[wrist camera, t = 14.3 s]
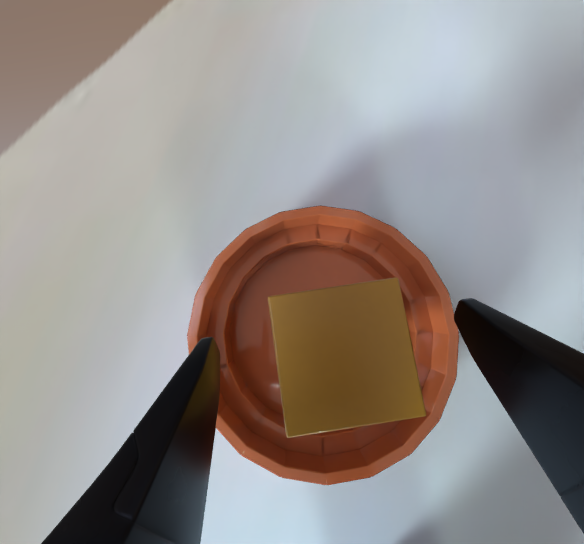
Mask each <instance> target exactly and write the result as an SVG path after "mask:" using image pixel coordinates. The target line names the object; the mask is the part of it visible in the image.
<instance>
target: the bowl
mask: <svg viewBox="0 0 584 544" xmlns="http://www.w3.org/2000/svg"><path fill="white" fill-rule="evenodd" d="M395 277H396V278H398V279H399V284H400V289H401V294H402V299H403V303H404V308H405V313H406V318H407V323H408V328H409V333H410V337H411V342H412V347H413V352H414V357H415V362H416V367H417V371H418V376H419V381H420V386H421V391H422V396H423V401H424V405H425V410H426V416H424V417H418V418H412V419H405V420H399V421H393V422H386V423H380V424H374V425H367V426H361V427H355V428H348V429H342V430H336V431H330V432H323V433H317V434H311V435H304V436H298V437H292V438H287V436H286V431H285V423H284V416H283V408H282V401H281V394H280V386H279V379H278V371H277V364H276V356H275V349H274V341H273V334H272V327H271V319H270V312H269V304H268V297H269V296H274V295H280V294H287V293H294V292H301V291H307V290H314V289H321V288H328V287H334V286H341V285H348V284H355V283H361V282H368V281H375V280H382V279H388V278H395ZM458 334H459V332H458V328H457V325H456V323H455V321H454V312H453V308H452V304H451V300H450V296H449V293H448V290H447V289H446V287H445V285H444V284H443V282H442V280H441V279H440V277H439V275H438V274H437V272H436V270H435V269H434V267H433V266H432V264H431V262H430V261H429V259H428V257H427V256H426V255H425V254H424V253H423V252H422V251H421V250H419V249H418V248H417V247H416V246H415V245H414V244H413V243H412V242H411V241H409V240H408V239H407V238H406V237H405V236H404V235H403V234H402V233H401V232H399V231H398V230H397V229H395V228H394V227H392V226H390V225H388V224H385V223H383V222H381V221H379V220H377V219H375V218H373V217H371V216H368V215H366V214H364V213H362V212H359V211H355V210H348V209H341V208H334V207H326V206H314V207H308V208H302V209H296V210H289V211H283V212H279V213H277V214H275V215H273V216H271V217H269V218H267V219H265V220H263V221H261V222H259V223H257V224H255V225H253V226H251V227H249V228H247V229H245V230H244V231H243V232H242V233H241V234H240V235H239V236H238V237H237V238H236V239H235V240H234V241H233V242H231V243H230V244H229V245H228V246H227V247H226V248H225V249H224V250H223V251H222V252H221V253H220V254H219V255H218V256H217V257H216V258H215V260H214V262H213V263H212V265H211V267H210V269H209V271H208V273H207V274H206V276H205V278H204V280H203V282H202V283H201V285H200V287H199V289H198V291H197V293H196V295H195V299H194V304H193V309H192V314H191V319H190V324H189V329H188V334H187V336H188V337H187V340H188V349H189V354H190V353H191V351H192V350H193V349H194V347H195V346H196V345H197V343H198V342H199V341H200V339H202V338H206V337H213V338H214V339H215V342H216V344H217V346H218V349H219V351H220V394H219V406H218V413H217V421H216V428H217V430H218V431H219V432H220V433H221V434H222V435H223V436H224V437H225V438H226V439H227V441H228V442H229V443H230V444H231V445H232V446H233V447H234V448H235V449H236V450H237V452H238V453H239V454H240V455H241V454H242V456H243V457H245V458H247V459H248V460H250V461H252V462H254V463H256V464H257V465H259V466H261V467H263V468H265V469H267V470H268V471H270V472H272V473H274V474H276V475H277V476H279V477H282V478H286V479H292V480H298V481H304V482H310V483H316V484H322V485H326V484H327V485H331V484H337V483H342V482H348V481H353V480H358V479H364V478H369V477H371V476H374V475H376V474H378V473H379V472H381V471H383V470H384V469H386V468H388V467H390V466H391V465H393V464H395V463H397V462H398V461H400V460H402V459H403V458H405V457H407V456H409V455H410V454H412V452H413V451H414V450H415V449H416V448H417V447H418V445H419V444H420V443H421V442H422V441H423V439H424V438H425V437H426V436H427V435H428V434H429V432H430V431H431V430H432V429H433V428H434V427H435V425H436V424H437V423H438V422H439V421H440V420H439V419H440V418H441V416H442V413H443V411H444V408H445V406H446V403H447V401H448V398H449V396H450V393H451V390H452V388H453V385H454V383H455V380H456V376H457V359H458V342H459V335H458Z"/></svg>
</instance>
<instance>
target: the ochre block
mask: <svg viewBox="0 0 584 544" xmlns="http://www.w3.org/2000/svg"><path fill="white" fill-rule="evenodd" d="M268 304H269V312H270V319H271V327H272V334H273V341H274V349H275V356H276V364H277V371H278V379H279V386H280V394H281V401H282V408H283V416H284V423H285V431H286V436H287V438H292V437H298V436H304V435H311V434H317V433H323V432H330V431H336V430H342V429H348V428H355V427H361V426H367V425H374V424H380V423H386V422H393V421H399V420H405V419H412V418H418V417H424V416H426V410H425V405H424V401H423V396H422V391H421V386H420V381H419V376H418V371H417V367H416V362H415V357H414V352H413V347H412V342H411V337H410V333H409V328H408V323H407V318H406V313H405V308H404V303H403V299H402V294H401V289H400V284H399V279H398V278H396V277H395V278H388V279H382V280H375V281H368V282H361V283H355V284H348V285H341V286H334V287H328V288H321V289H314V290H307V291H301V292H294V293H287V294H280V295H274V296H269V297H268Z"/></svg>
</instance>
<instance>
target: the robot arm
mask: <svg viewBox="0 0 584 544" xmlns="http://www.w3.org/2000/svg"><path fill="white" fill-rule="evenodd" d="M454 321H455V323H456V325H457V327H458V329H459V331H460V333H461V335H462V337H463V339H464V341H465V343H466V345H467V347H468V350H469V352H470V353H471V355H472V357H473V359H474V361H475V362H476V364H477V366H478V367H479V369H480V370H481V372H482V374H483V375H484V377H485V378H486V380H487V381H488V383H489V385H490V386H491V388H492V389H493V391H494V393H495V394H496V396H497V397H498V399H499V400H500V402H501V404H502V405H503V407H504V408H505V410H506V411H507V413H508V415H509V416H510V418H511V419H512V421H513V423H514V424H515V426H516V427H517V429H518V430H519V432H520V434H521V435H522V437H523V438H524V440H525V441H526V443H527V445H528V446H529V448H530V449H531V451H532V453H533V454H534V456H535V457H536V459H537V460H538V462H539V464H540V465H541V467H542V468H543V470H544V472H545V473H546V475H547V476H548V478H549V479H550V481H551V483H552V484H553V486H554V487H555V489H556V490H557V492H558V494H559V495H560V496H561V499H562V500H563V502H564V503H565V505H566V507H567V508H568V510H569V511H570V513H571V514H572V516H573V518H574V519H575V521H576V522H577V524H578V526H579V527H580V529H581V530H582V532H583V533H584V354H583V353H581V352H579V351H577V350H575V349H573V348H571V347H569V346H567V345H565V344H563V343H561V342H559V341H557V340H555V339H553V338H551V337H549V336H547V335H545V334H543V333H541V332H539V331H537V330H535V329H533V328H531V327H529V326H527V325H525V324H523V323H521V322H519V321H517V320H515V319H513V318H511V317H509V316H507V315H505V314H503V313H501V312H499V311H497V310H495V309H493V308H491V307H489V306H487V305H485V304H483V303H481V302H479V301H477V300H475V299H472V298H469V299H462V300H460V301H459V303H458V305H457V308H456V311H455V313H454ZM219 394H220V351H219V349H218V346H217V344H216V342H215V339H214V338H213V337H206V338H202V339H200V341H199V342H198V343H197V345H196V346H195V347H194V349H193V350H192V351H191V353H190V354H189V356H188V357H187V358H186V360H185V361H184V362H183V364H182V365H181V366H180V368H179V369H178V371H177V372H176V373H175V375H174V376H173V377H172V379H171V380H170V382H169V383H168V384H167V386H166V387H165V388H164V390H163V391H162V392H161V394H160V395H159V397H158V398H157V399H156V401H155V402H154V403H153V405H152V406H151V407H150V409H149V410H148V412H147V413H146V414H145V416H144V417H143V418H142V420H141V421H140V422H139V424H138V425H137V427H136V428H135V429H134V433H131V435H130V436H129V437H128V439H127V440H126V441H125V443H124V444H123V445H122V447H121V448H120V449H119V451H118V452H117V453H116V455H115V456H114V457H113V459H112V460H111V461H110V463H109V464H108V465H107V466H106V468H105V469H104V470H103V471H102V472H101V474H100V475H99V476H98V477H97V478H96V480H95V481H94V482H93V483H92V485H91V486H90V487H89V488H88V489H87V490H86V492H85V493H84V494H83V495H82V496H81V498H80V499H79V500H78V501H77V502H76V503H75V505H74V506H73V507H72V508H71V509H70V511H69V512H68V513H67V514H66V515H65V516H64V518H63V519H62V520H61V521H60V522H59V524H58V525H57V526H56V527H55V528H54V529H53V531H52V532H51V533H50V534H49V535H48V536H47V538H46V539H45V540H44V541H43V542H42V543H41V544H200V541H201V534H202V526H203V519H204V511H205V504H206V496H207V489H208V481H209V474H210V466H211V458H212V451H213V443H214V436H215V428H216V421H217V413H218V406H219Z"/></svg>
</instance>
